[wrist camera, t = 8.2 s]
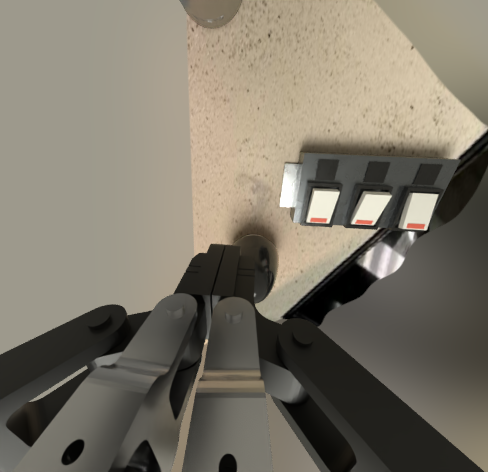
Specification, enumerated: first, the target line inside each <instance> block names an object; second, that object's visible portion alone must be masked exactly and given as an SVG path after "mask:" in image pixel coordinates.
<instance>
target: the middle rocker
mask: <svg viewBox="0 0 488 472" xmlns="http://www.w3.org/2000/svg"><path fill="white" fill-rule="evenodd" d="M391 197H392V195H391V194H390V193H389V192H369V191H364V192H363V194H362V196H361V198H360V200H359V202H358V204H357V206H356V208H355V210H354V212H353V214H352V217H351V221H350V223H351V224H360V225H374V224H375V223H376V221H377V219H378V218H379V216H380V215H381V213H382V211H383V210H384V208H385V206H386V205H387V203H388V202H389V200H390V198H391Z"/></svg>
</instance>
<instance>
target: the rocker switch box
mask: <svg viewBox="0 0 488 472" xmlns="http://www.w3.org/2000/svg"><path fill="white" fill-rule="evenodd" d="M459 162H460V160H458V159H448V158H433V157H409V156H386V155H363V154H340V153H316V152H300V156H299V162H298V164H289V163H285V166H284V174H283V182H282V190H281V198H280V207H291V214H290V217H291V219H292V221H293V223H300V225H304V226H322V227H332V225H343V226H344V227H345V228H358V229H376V230H377V229H378V227H381V228H388V229H389V230H393V231H411V232H423V231H424V230H413V229H401V228H398V227H399V223H400V220H401V216H402V213H403V209H404V206H405V203H406V200H407V198H408V196H409V193H426V194H438V197H437V200H436V203H435V206H434V209H433V212H432V215H433V213H434V211H435V209H436V207H437V205H438V203H439V202H440V200H441V198H442V196H443V194H444V192H445V190H446V188H447V186H448V184H449V182H450V180H451V178H452V176H453V174H454V172H455V170H456V168H457V166H458V164H459ZM313 188H319V189H338V190H339V191H340V193H339V196H338V199H337V202H336V205H335V208H334V211H333V213H332V216H331V219H330V222H329V224H328V223H310V222H306V220H305V218H306V214H307V211H308V207H309V203H310V199H311V195H312V191H313ZM364 191H369V192H389V193H390V194H391V195H392V197H391V198H390V200H389V202H388V203H387V205H386V206H385V208H384V210H383V211H382V213H381V215H380V216H379V218H378V219H377V221H376V223H375V224H374V225H360V224H351V223H350V221H351V217H352V214H353V212H354V210H355V208H356V206H357V204H358V202H359V200H360V198H361V196H362V194H363V192H364ZM432 215H431V217H432ZM430 219H431V218H430Z"/></svg>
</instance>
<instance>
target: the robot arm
mask: <svg viewBox="0 0 488 472" xmlns="http://www.w3.org/2000/svg"><path fill="white" fill-rule="evenodd" d="M180 2H181V3H182V5H183V7H184V9H185V11H186V12H187V14H188V15H189V16H190V17H191V18H192V20H194V21H195V22H196V23H197V24H199V25H201V26H203V27H206V28H219V27H221V26H223V25H225V24H227V23H228V22H229V21H230V20H231V19H232V18H233V17H234V16H235V14H236V13H237V11H238V9H239V7H240V5H241V2H242V0H180ZM254 281H255V262H254V260H253V259H252V257H251V256H244V255H241V245H223V244H211V245H210V247H209V249H208V251H207V253H199V254H198V255H196V256H195V257H194V258H192V260H191V262H190V264H189V267H188V268H187V270H186V273H184V275H183V277H182V279H181V281H180V283H179V284H178V286H177V288H176V290H175V292H174V294H173V295H170V296H167V297H165V298H164V299H162V300H161V301H160V302H159V303H158V304H157V305H156V306H155V308H154V309H153V310H152V311H148V312H143V313H137V314H132V315H127V313H126V310H125V309H124V308H123V307H122V306H120V305H105V306H101V307H98V308H96V309H94V310H92V311H90V312H88V313H85V314H83V315H81V316H79V317H77V318H75V319H73V320H71V321H69V322H67V323H65V324H63V325H61V326H59V327H57V328H55V329H52V330H50V331H48V332H46V333H44V334H42V335H40V336H38V337H36V338H34V339H32V340H30V341H28V342H26V343H23V344H21V345H19V346H17V347H15V348H13V349H11V350H9V351H7V352H5V353H3V354H1V355H0V472H171V469H172V466H173V463H174V459H175V456H176V452H177V447H178V442H179V434H180V427H181V423H182V420H183V416H184V413H185V410H186V407H187V403H188V401H189V397H190V394H191V391H192V388H193V385H194V382H195V379H196V376H197V373H198V370H199V366H200V364H201V360H202V350H203V347H204V343H205V339H208V346H207V352H206V358H205V365H204V370H203V375H202V377H201V378H200V379H199V382H198V385H197V389H196V394H195V399H194V406H193V411H192V416H191V422H190V428H189V434H188V439H187V445H186V451H185V457H184V463H183V468H182V472H273V465H272V455H271V445H270V435H269V425H268V416H267V406H266V395H265V392H266V393H268V394H270V395H271V397H272V399H273V401H274V403H275V404H276V406H277V407H278V409H279V410H280V412H281V413H282V415H283V416H284V418H285V419H286V421H287V422H288V424H289V425H290V427H291V428H292V430H293V431H294V432H295V434H296V436H297V437H298V439H299V440H300V442H301V443H302V444H303V446H304V447H305V449H306V450H307V452H308V453H309V455H310V456H311V458H312V459H313V461H314V462H315V464H316V465H317V467H318V468H319V470H320V471H321V472H484V471H483V470H482V469H481V468H480V467H478V466H477V465H476V464H475V463H474V462H472V461H471V460H470V459H469V458H468V457H467V456H466V455H464V454H463V453H462V452H461V451H460V450H459V449H458V448H456V447H455V446H454V445H453V444H452V443H451V442H449V441H448V440H447V439H446V438H445V437H444V436H442V435H441V434H440V433H439V432H438V431H437V430H436V429H434V428H433V427H432V426H431V425H430V424H429V423H427V422H426V421H425V420H424V419H423V418H422V417H421V416H419V415H418V414H417V413H416V412H415V411H414V410H412V409H411V408H410V407H409V406H408V405H407V404H406V403H404V402H403V401H402V400H401V399H400V398H399V397H397V396H396V395H395V394H394V393H393V392H392V391H391V390H389V389H388V388H387V387H386V386H385V385H384V384H382V383H381V382H380V381H379V380H378V379H377V378H375V377H374V376H373V375H372V374H371V373H370V372H369V371H367V370H366V369H365V368H364V367H363V366H362V365H360V364H359V363H358V362H357V361H356V360H355V359H354V358H352V357H351V356H350V355H349V354H348V353H347V352H345V351H344V350H343V349H342V348H341V347H340V346H339V345H337V344H336V343H335V342H334V341H333V340H332V339H330V338H329V337H328V336H327V335H326V334H324V333H323V332H322V331H321V330H320V329H319V328H318V327H316V326H315V325H314V324H312V323H311V322H309V321H306V320H303V319H296V318H294V319H289V320H287V321H285V322H284V323H282V325H281V324H279V323H276V322H273V321H271V320H268V319H267V318H265V317H263V316H262V315H261V314H260V313H259V312H258V311H257V309H256V307H255V304H254ZM85 365H86V366H87V367H88V369H87V370H85V371H83V372H82V373H80V374H79V375H77V376H76V377H74V378H73V379H71V380H70V381H68V382H66V383H65V384H63V385H62V386H60V387H59V388H57V389H56V390H54V391H53V392H51V393H50V394H48V395H46V396H45V397H43V398H41V399H39V400H37V401H33V402H29V401H30V400H32V399H34V398H35V397H37V396H38V395H40V394H41V393H43V392H44V391H46V390H48V389H49V388H51V387H52V386H54V385H55V384H57V383H59V382H60V381H62V380H63V379H65V378H67V377H68V376H70V375H71V374H73V373H74V372H76V371H78V370H79V369H81V368H82V367H84V366H85Z"/></svg>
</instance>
